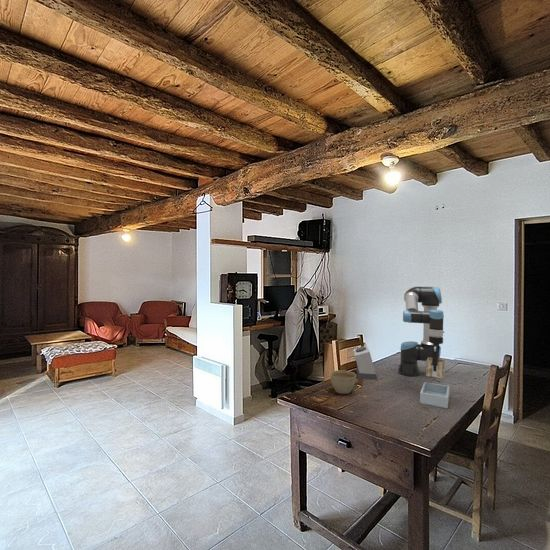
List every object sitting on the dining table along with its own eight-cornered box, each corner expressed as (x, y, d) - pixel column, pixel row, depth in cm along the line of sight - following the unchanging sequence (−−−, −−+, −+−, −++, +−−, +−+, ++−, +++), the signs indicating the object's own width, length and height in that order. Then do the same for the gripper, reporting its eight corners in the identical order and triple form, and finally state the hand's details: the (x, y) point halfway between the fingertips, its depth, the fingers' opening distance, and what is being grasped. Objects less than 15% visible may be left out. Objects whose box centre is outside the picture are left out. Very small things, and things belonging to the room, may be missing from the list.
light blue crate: (419, 403, 190) (420, 392, 190) (424, 391, 209) (424, 381, 209) (447, 408, 183) (447, 397, 183) (449, 395, 202) (449, 385, 202)
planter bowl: (337, 385, 219) (337, 368, 219) (360, 390, 209) (360, 373, 209) (324, 391, 207) (325, 374, 207) (348, 398, 197) (348, 379, 196)
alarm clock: (377, 379, 231) (378, 350, 231) (354, 378, 234) (354, 349, 234) (374, 371, 251) (374, 344, 251) (352, 370, 254) (353, 343, 254)
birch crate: (426, 376, 194) (426, 360, 194) (427, 372, 202) (428, 357, 202) (443, 378, 190) (443, 362, 190) (444, 374, 198) (444, 359, 198)
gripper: (442, 340, 185) (441, 380, 185) (444, 334, 204) (443, 370, 204) (427, 338, 189) (426, 378, 189) (430, 333, 207) (430, 369, 207)
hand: (435, 374), depth 196 cm, fingers closed on birch crate, 9 cm apart
